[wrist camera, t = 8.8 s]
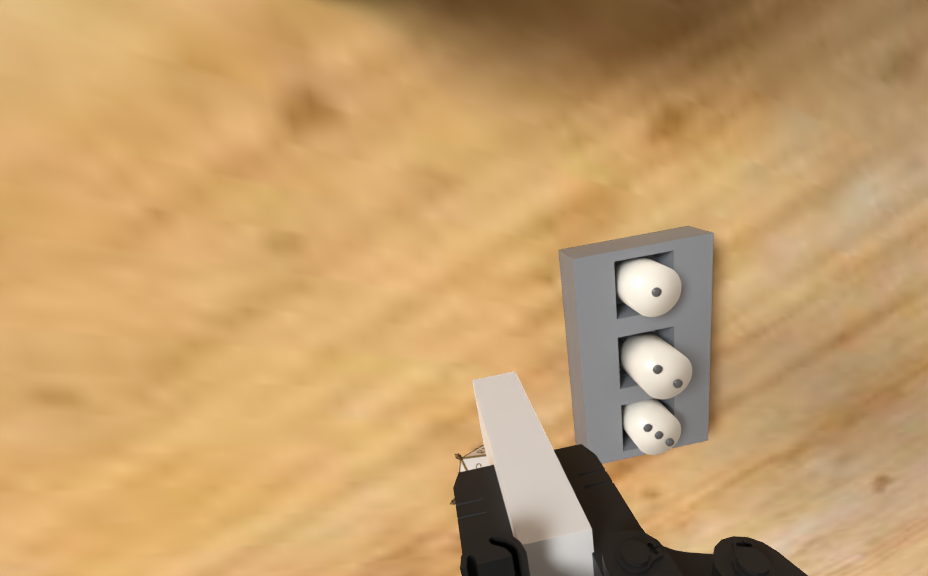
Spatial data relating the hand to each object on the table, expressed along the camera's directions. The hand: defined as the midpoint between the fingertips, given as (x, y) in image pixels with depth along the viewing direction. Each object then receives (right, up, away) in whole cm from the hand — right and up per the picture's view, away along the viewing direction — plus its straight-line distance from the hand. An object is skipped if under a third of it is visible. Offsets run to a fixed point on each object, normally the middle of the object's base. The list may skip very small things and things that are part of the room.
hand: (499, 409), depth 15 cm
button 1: (+16, +5, +30) cm, 35 cm away
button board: (+17, -2, +34) cm, 38 cm away
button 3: (+18, -10, +35) cm, 41 cm away
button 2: (+17, -3, +31) cm, 36 cm away
